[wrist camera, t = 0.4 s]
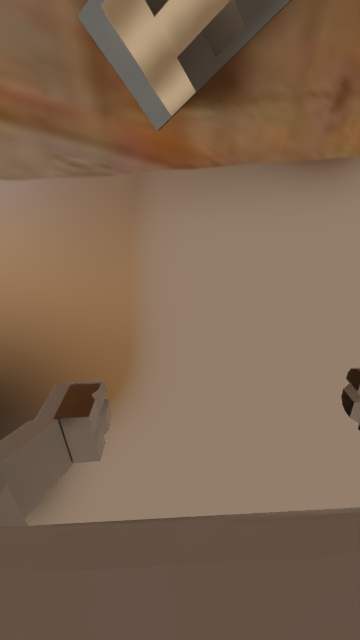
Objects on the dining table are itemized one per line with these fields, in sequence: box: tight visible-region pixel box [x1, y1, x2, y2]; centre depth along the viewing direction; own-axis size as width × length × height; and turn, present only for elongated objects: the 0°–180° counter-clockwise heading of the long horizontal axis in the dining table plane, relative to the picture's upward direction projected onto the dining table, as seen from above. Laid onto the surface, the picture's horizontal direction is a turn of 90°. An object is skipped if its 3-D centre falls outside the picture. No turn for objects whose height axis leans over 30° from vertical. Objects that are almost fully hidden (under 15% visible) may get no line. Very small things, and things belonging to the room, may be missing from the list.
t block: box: [101, 0, 230, 116], centre depth 34 cm, size 12×12×10 cm
